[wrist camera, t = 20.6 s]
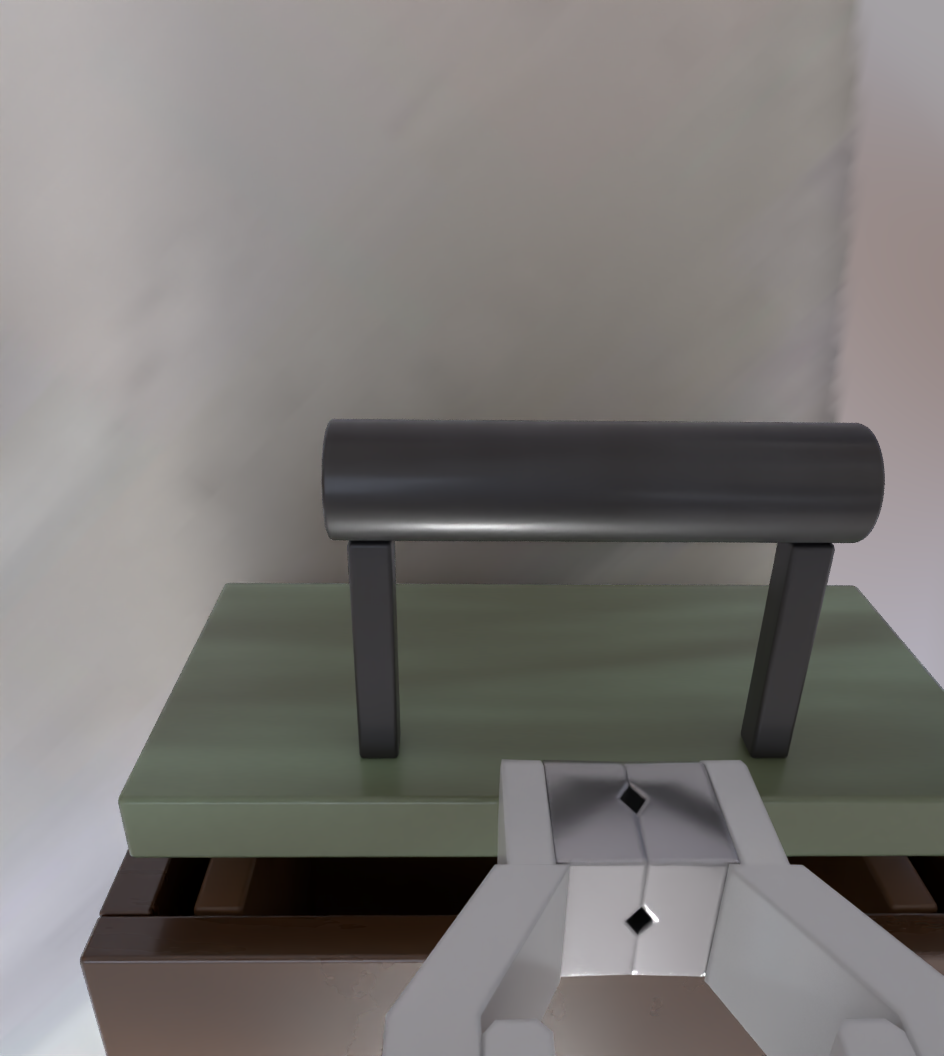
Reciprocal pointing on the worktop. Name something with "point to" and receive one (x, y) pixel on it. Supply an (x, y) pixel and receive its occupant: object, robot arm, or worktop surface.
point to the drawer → (544, 668)
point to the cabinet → (364, 979)
